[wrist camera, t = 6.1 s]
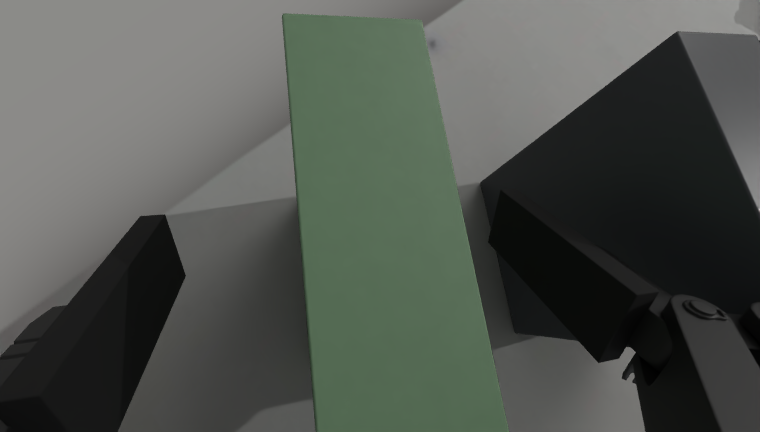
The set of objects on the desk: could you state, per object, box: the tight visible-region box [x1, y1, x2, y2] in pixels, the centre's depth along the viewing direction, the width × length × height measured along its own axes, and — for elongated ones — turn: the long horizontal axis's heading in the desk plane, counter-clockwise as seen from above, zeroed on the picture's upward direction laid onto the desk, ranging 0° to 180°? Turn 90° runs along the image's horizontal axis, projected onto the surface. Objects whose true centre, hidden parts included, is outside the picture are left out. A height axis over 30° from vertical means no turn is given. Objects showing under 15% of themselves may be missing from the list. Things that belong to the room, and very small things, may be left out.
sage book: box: [282, 14, 509, 432], centre depth 13 cm, size 4×10×13 cm, turn 8°
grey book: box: [481, 31, 760, 347], centre depth 15 cm, size 4×10×13 cm, turn 8°
